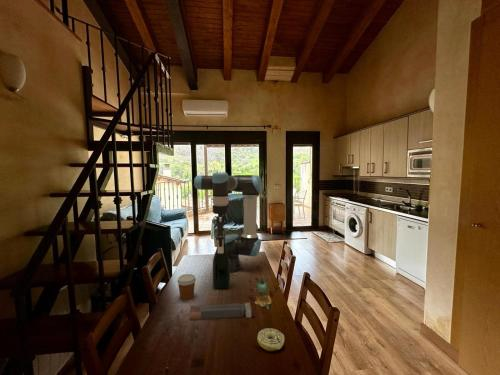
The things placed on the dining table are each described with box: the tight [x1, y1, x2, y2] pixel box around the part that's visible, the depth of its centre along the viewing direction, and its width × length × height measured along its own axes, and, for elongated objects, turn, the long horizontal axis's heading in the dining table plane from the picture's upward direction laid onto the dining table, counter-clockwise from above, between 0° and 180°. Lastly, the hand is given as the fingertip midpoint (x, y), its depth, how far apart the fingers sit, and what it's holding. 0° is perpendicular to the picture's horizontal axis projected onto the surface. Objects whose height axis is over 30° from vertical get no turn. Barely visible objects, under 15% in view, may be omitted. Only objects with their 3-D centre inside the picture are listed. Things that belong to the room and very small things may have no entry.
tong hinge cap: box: [244, 302, 252, 319], centre depth 115 cm, size 7×2×4 cm, turn 6°
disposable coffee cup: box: [176, 273, 197, 302], centre depth 128 cm, size 10×10×12 cm
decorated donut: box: [256, 327, 285, 352], centre depth 97 cm, size 10×11×4 cm
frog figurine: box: [254, 276, 272, 310], centre depth 126 cm, size 10×18×15 cm, turn 1°
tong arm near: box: [188, 306, 246, 321], centre depth 112 cm, size 2×25×4 cm, turn 96°
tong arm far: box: [189, 302, 245, 310], centre depth 115 cm, size 2×25×4 cm, turn 97°
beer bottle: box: [211, 231, 231, 291], centre depth 141 cm, size 10×10×33 cm
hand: (220, 248), depth 118 cm, fingers open, 13 cm apart
